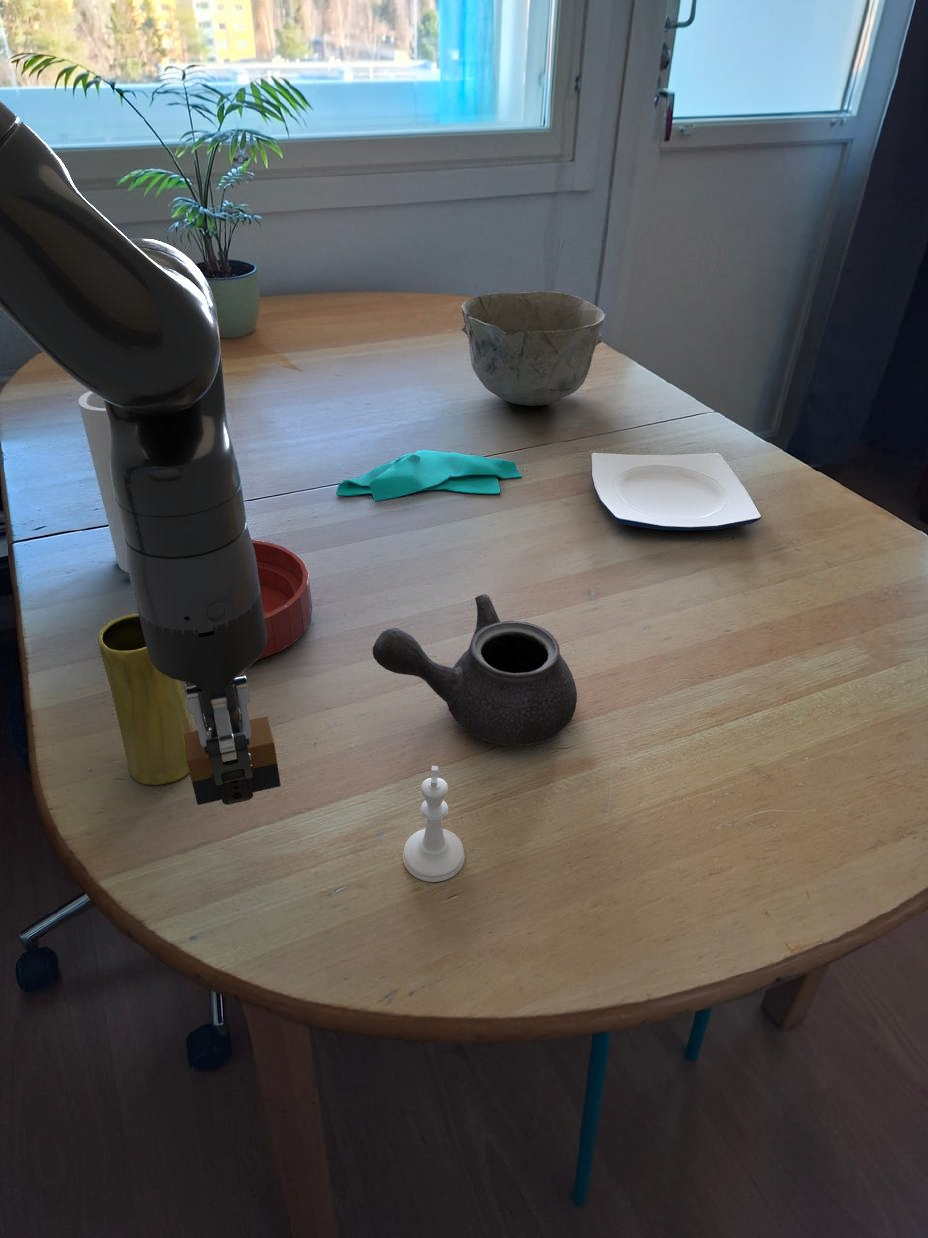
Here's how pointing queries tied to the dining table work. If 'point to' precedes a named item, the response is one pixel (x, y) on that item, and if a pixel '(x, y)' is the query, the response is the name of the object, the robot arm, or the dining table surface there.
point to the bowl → (531, 343)
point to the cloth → (431, 475)
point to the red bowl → (282, 595)
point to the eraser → (260, 759)
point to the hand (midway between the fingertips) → (234, 781)
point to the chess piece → (433, 837)
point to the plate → (672, 491)
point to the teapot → (494, 678)
